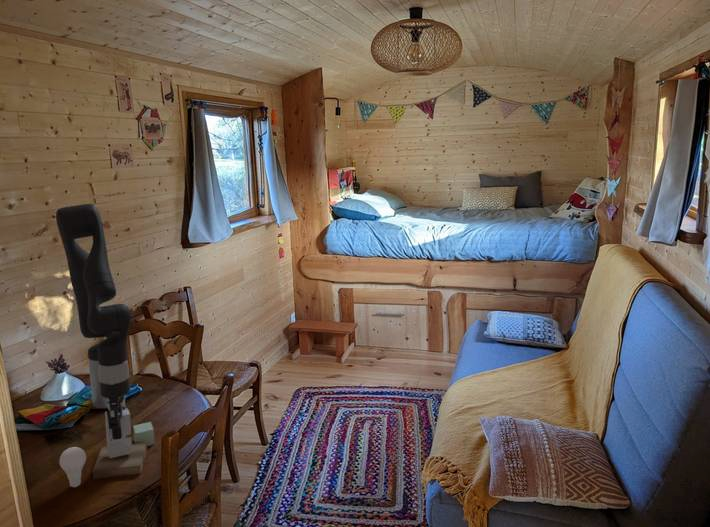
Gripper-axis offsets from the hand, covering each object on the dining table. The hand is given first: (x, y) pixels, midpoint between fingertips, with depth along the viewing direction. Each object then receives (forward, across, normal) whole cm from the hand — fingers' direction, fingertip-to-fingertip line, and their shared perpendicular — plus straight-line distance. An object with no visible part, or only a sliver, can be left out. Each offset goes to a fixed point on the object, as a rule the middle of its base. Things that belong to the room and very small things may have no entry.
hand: (118, 433), depth 149 cm
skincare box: (+6, 0, 0) cm, 6 cm away
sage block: (+10, -10, +5) cm, 15 cm away
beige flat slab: (+10, 0, 0) cm, 10 cm away
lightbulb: (+10, +8, -10) cm, 16 cm away
